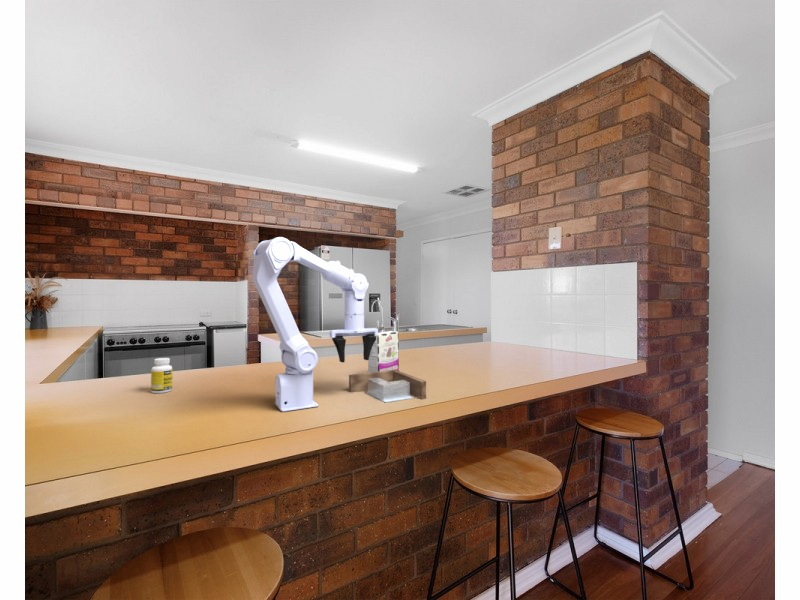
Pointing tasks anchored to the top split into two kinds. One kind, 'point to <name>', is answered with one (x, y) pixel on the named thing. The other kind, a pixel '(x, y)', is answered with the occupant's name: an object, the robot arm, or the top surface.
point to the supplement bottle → (161, 376)
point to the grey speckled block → (388, 388)
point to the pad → (393, 399)
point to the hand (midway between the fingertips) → (354, 360)
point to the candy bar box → (384, 352)
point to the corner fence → (361, 381)
